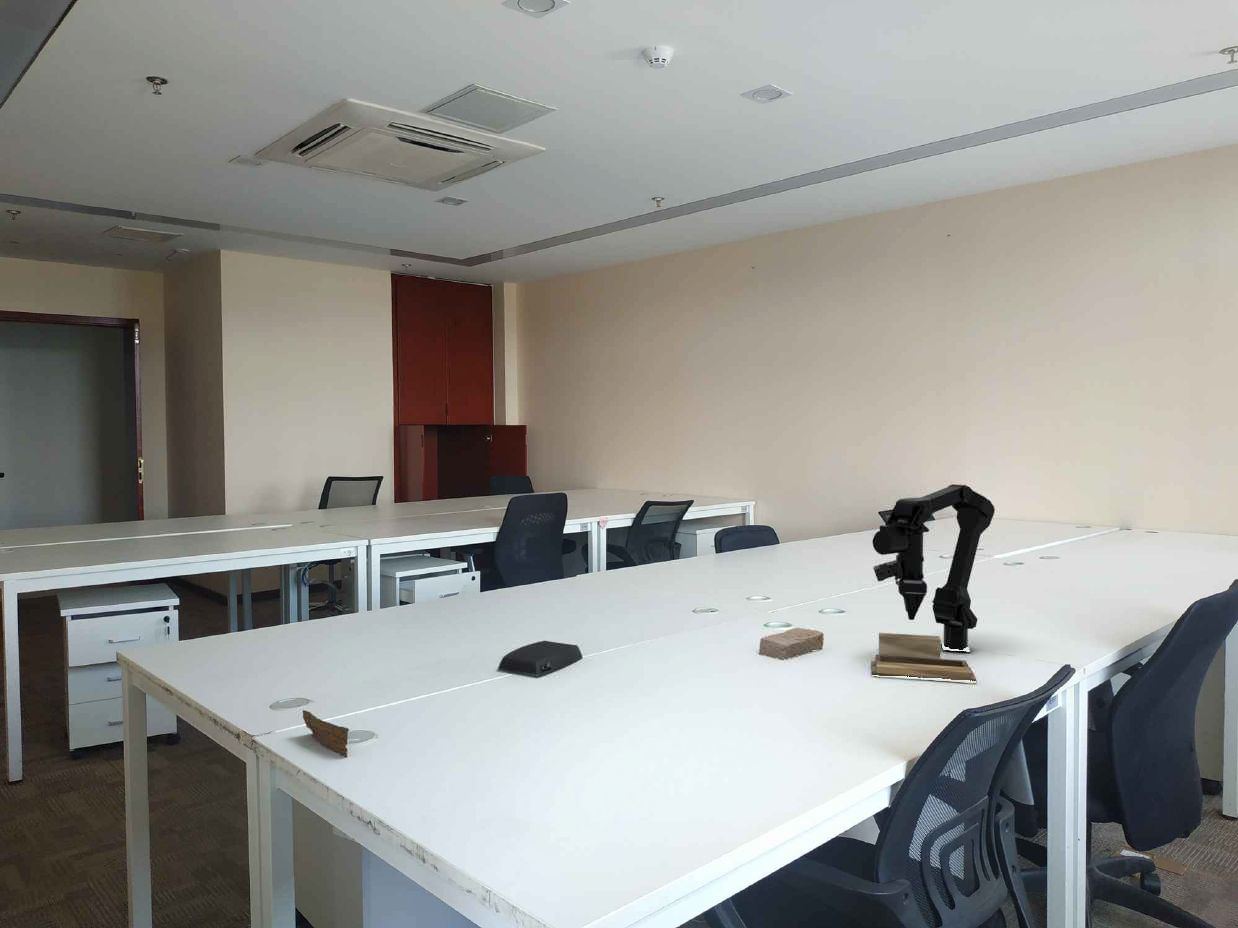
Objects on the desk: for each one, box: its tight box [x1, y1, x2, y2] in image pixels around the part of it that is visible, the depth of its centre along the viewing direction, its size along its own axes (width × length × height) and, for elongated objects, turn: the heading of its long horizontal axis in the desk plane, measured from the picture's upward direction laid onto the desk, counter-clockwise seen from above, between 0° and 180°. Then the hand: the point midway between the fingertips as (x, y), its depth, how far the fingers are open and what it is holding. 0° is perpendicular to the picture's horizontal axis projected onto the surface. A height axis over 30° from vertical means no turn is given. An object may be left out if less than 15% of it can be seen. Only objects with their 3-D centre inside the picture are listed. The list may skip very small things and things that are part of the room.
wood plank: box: [302, 710, 350, 758], centre depth 153 cm, size 15×2×5 cm, turn 46°
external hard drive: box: [496, 640, 583, 679], centre depth 205 cm, size 13×19×4 cm
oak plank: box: [878, 632, 942, 659], centre depth 208 cm, size 4×14×6 cm, turn 75°
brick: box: [758, 627, 825, 661], centre depth 216 cm, size 17×8×5 cm, turn 131°
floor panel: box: [870, 654, 977, 682], centre depth 196 cm, size 10×22×2 cm, turn 75°
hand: (909, 615), depth 207 cm, fingers open, 9 cm apart
